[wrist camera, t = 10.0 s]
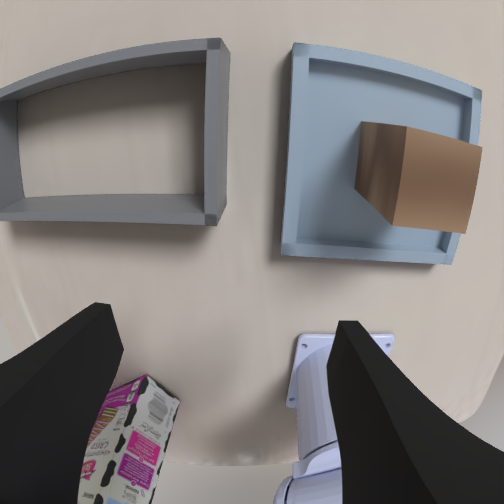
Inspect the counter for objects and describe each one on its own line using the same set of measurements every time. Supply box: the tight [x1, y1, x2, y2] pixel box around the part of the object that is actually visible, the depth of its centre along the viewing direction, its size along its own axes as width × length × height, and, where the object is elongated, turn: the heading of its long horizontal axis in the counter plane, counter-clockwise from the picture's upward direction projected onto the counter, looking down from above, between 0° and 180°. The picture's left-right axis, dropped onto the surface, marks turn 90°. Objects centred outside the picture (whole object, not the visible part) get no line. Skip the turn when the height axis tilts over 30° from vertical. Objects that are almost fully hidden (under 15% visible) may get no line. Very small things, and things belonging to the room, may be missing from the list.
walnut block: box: [354, 121, 482, 234], centre depth 13 cm, size 4×4×6 cm
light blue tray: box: [280, 43, 482, 265], centre depth 15 cm, size 12×12×2 cm
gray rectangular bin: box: [0, 38, 230, 226], centre depth 15 cm, size 9×17×4 cm, turn 88°
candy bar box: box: [77, 375, 180, 504], centre depth 20 cm, size 11×5×16 cm, turn 127°
